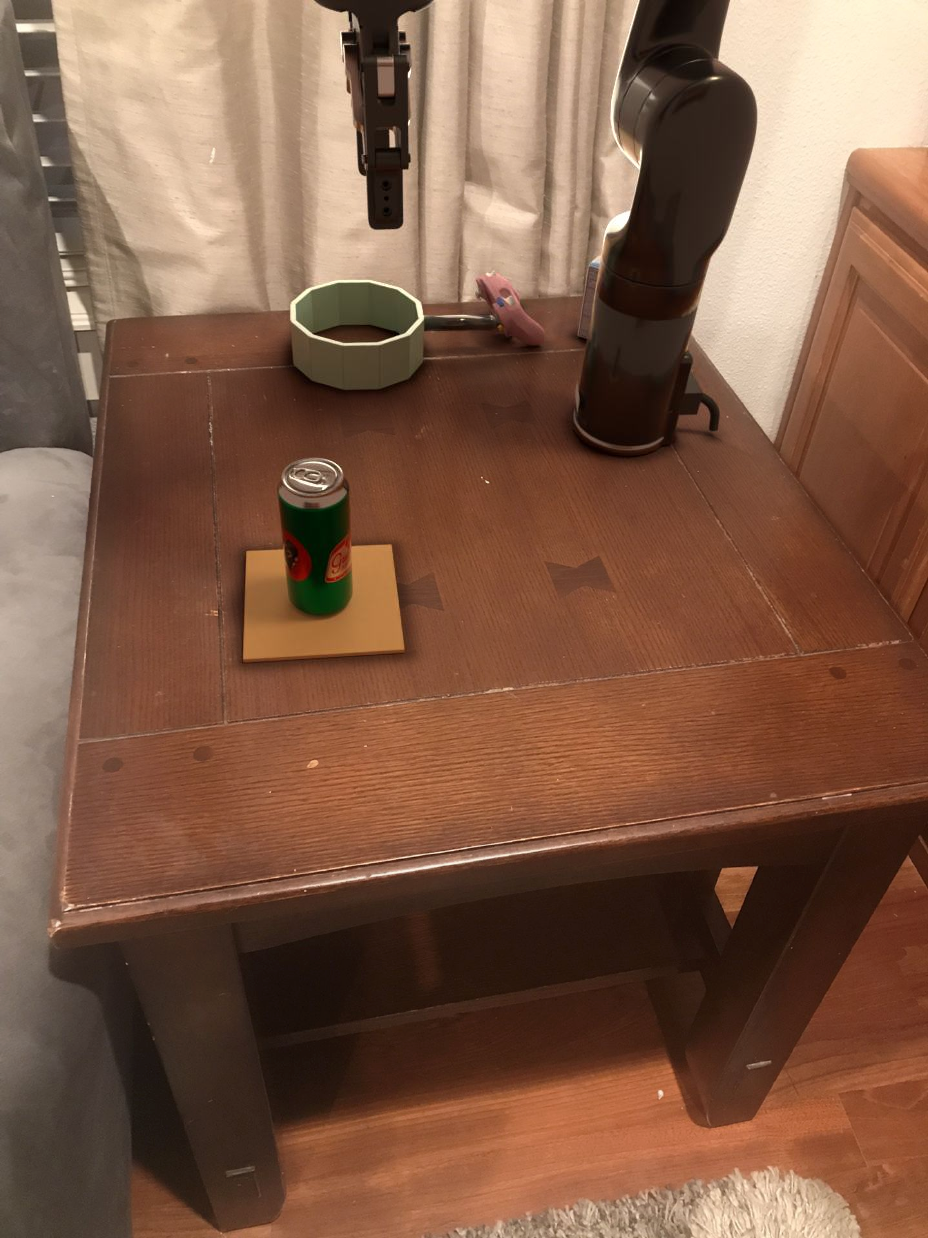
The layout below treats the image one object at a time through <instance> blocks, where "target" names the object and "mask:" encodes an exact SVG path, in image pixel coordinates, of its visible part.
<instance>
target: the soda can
mask: <svg viewBox="0 0 928 1238" xmlns="http://www.w3.org/2000/svg"><path fill="white" fill-rule="evenodd" d="M276 490H277V491H276V492H277V501H278V502H277V503H278V510H279V519H280V530H281V539H282V549H283V550H284V560H285V570H286V579H287V589H288V597H289V600H290V602H291V603H292V604H293V605H294V606H295V607H296V608H297V609H299V610H301V611H302V612H304V613H307V614H310V615H316V616H323V615H329V614H332V613H335V612H337V611H339V610H340V609H342V608H343V607H344V606H346V605H347V604H348V602H349V601H350V599H351V598H352V594H353V581H352V552H351V546H352V527H351V524H352V523H351V499H350V497H351V496H350V484H349V482H348V479H347V478H346V477H345V476H344V472H343V470H342V468H341V467H340V466H339V465H338V464H336V463H335V462H334V461H331V460H329V459H326V458H320V457H306V458H302V459H298V460H295V461H293V462H291V463H290V464H288V465H287V466H286V467H285V468H284V469H283V471H282V473H281V479H280V480H279V482H278V484H277V488H276Z"/></svg>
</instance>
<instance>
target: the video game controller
mask: <svg viewBox="0 0 928 1238" xmlns="http://www.w3.org/2000/svg"><path fill="white" fill-rule="evenodd" d="M475 282H476V285H477V288H478V289H477V290H476V289H475V290H474V295H475V297H476V299H477V300H478V301H482V300H484V301H485V302H486V304H487V306H488V308H489V310H490V312H491V315H493V316H495V318H496V319H497V324H499V325H497V328H498V331H499V332H500V333H503V334H504V335H505V337H506V338H508V337H510V336H512V337H513V338H514V339H516V340H517V341H519V342H521V343H523V344H525V345H529V346H535V347H536V346H539V345H542V344H543V342H544V341H545V339H546V332H545V330H544V328H543V327H542V326H541V325H540V324H539V323H538V322H536V321H535V320H534V319H532V318H531V317H530V316H529V315H528V314H527V313H526V312H525V310H524V309H523V308H522V305H521V303H520V301H521V298H520V294H519V292H518V291H517V290H516V289H515V288H514V286H513V284H512V283H511V281H509V280H508V279H507V278H505V277H503V276H501V274H499V273H498V272H496V271H495V269H493V270H492V272H486V273H483V274H481V275H480V276H478V277H476V278H475Z"/></svg>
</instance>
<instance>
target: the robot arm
mask: <svg viewBox="0 0 928 1238" xmlns="http://www.w3.org/2000/svg"><path fill="white" fill-rule="evenodd" d="M313 1H314V2H315V3H316V4H318V5H319V6H321V7H322V8H325V9H327V10H330V11H333V12H337V13H340V14H341V13H345V12H347V30H340V48H341V61H342V63H343V64H344V66H343V67H344V76H345V77H344V78H345V88H346V92H347V93H348V94H349V95H350V108H351V115H352V124H353V127H354V129H355V131H356V132H355V133H356V156H357V169H358V172H359V174H360V176H363V177H365V179H366V181H365V183H366V184H365V185H366V207H367V208H366V209H367V221H368V225H369V227H370V228H371V229H372V230H374V231H383V230H384V231H387V230H399V229H401V228H402V227H403V225H404V171H405V170H409V168H410V164H411V162H412V157H411V153H410V150H409V149H410V148H409V147H410V145H409V138H410V137H409V135H410V134H409V126H410V122H411V119H412V111H411V110H412V108H411V97H410V95H411V94H410V93H411V92H410V81H409V80H410V79H409V78H410V76H411V72H412V67H413V66H412V65H413V63H412V49H411V43H407V33H406V30H400V29H399V19H400V18H401V17H402V16H403V15H405V14H406V13H409V12H410V13H411V12H412V13H418V12H421V11H423V10H425V9H428V8H429V7H431V6H432V5H433V4H434V3H435V2H436V0H313ZM730 3H731V0H637V2H636V5H635V6H636V7H635V10H634V14H633V18H632V21H631V25H630V28H629V32H628V35H627V38H626V42H625V45H624V50H623V52H622V56H621V60H620V63H619V67H618V71H617V75H616V78H615V84H614V87H613V91H612V97H611V104H610V124H611V128H612V133H613V136H614V139H615V141H616V143H617V146H618V147H619V149H620V150H621V152H623V154H624V155H625V156H626V157H627V159H629V161H630V162H631V163H632V164H634V165H635V166H636V167H637V168H638V170H639V171H638V174H637V175H638V176H637V181H636V184H635V189H634V190H635V191H634V194H633V198H632V203H631V206H630V210H629V211H626V212H623V213H621V214H618V215H617V216H615V217H614V218H613V219H612V220H611V221H610V222H609V223H608V225H607V227H606V230H605V232H604V236H603V243H602V248H601V254H600V255H601V259H600V265H599V271H598V277H597V283H596V289H595V295H594V301H593V307H592V313H591V319H590V325H589V331H588V337H587V339H586V343H585V348H584V349H585V350H584V355H583V362H582V367H581V373H580V379H579V382H578V381H576V384H575V390H574V396H575V406H574V411H573V415H572V421H571V422H572V423H571V424H572V429H573V431H574V433H575V435H576V436H577V438H579V439H580V440H581V441H582V442H583V443H584V444H586V445H588V446H589V447H591V448H593V449H596V450H598V451H600V452H603V453H606V454H610V455H614V456H615V455H616V456H626V457H627V456H629V457H630V456H631V457H633V456H641V455H646V454H649V453H651V452H654V451H656V450H658V449H659V448H660V447H662V446H670V445H672V444H673V440H674V436H675V434H676V433H675V432H676V428H677V425H678V422H679V417H680V416H695V415H696V416H697V415H698V414H699V409H700V406H701V404H702V405H704V406H705V407H706V408H707V409H708V411H709V422H708V430H709V431H710V432H717V431H718V430H719V424H720V418H721V417H720V416H721V415H720V414H721V413H720V412H721V411H720V408H719V405H718V403H717V402H716V401H715V399H713V397H711V396H710V395H708V394H706V393H705V392H703V390H702V388H701V385H700V384H699V383H698V382H699V381H697V379H696V377H695V375H694V373H693V371H692V368H693V364H694V356H693V354H692V352H691V351H690V349H689V346H690V345H689V344H690V341H691V337H692V332H693V328H694V324H695V320H696V318H697V317H696V316H697V313H698V309H699V304H700V301H701V297H702V293H703V289H704V285H705V281H706V278H707V273H708V270H709V266H710V263H711V259H712V258H713V256H714V254H715V253H716V251H717V250H718V249H719V247H720V246H721V245H722V243H723V241H724V239H725V237H726V236H727V233H728V231H729V228H730V225H731V223H732V219H733V215H734V213H735V209H736V206H737V203H738V201H739V197H740V194H741V191H742V187H743V185H744V181H745V178H746V175H747V171H748V168H749V164H750V162H751V157H752V155H753V154H752V153H753V150H754V147H755V146H754V145H755V142H756V141H755V140H756V135H757V128H758V105H757V99H756V95H755V93H754V90H753V89H752V87H751V85H750V84H749V83H748V82H747V81H746V80H745V78H743V76H741V75H740V74H739V73H737V72H736V71H735V70H733V69H732V68H731V67H729V66H728V65H726V64H724V62H722V61H720V60H719V57H720V50H721V45H722V44H721V43H722V38H723V34H724V28H725V24H726V20H727V15H728V11H729V8H730ZM390 131H392V132H393V135H394V146H391V144H390V143H391V141H390V139H391V138H390Z"/></svg>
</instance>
